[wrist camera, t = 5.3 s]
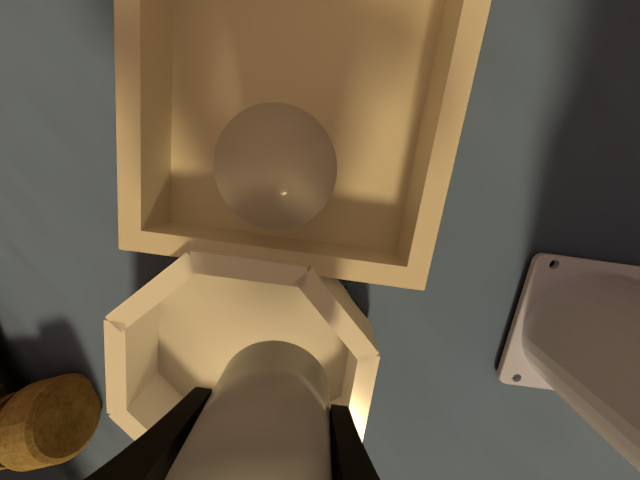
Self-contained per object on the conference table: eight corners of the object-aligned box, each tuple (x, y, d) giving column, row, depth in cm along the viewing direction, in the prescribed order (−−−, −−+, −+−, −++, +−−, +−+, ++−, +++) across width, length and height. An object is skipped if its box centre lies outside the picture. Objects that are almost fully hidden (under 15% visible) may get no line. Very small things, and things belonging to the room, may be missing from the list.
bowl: (381, 256, 16) (396, 279, 13) (345, 445, 19) (349, 504, 16) (148, 224, 16) (100, 239, 13) (147, 420, 19) (109, 473, 16)
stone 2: (336, 348, 12) (345, 446, 7) (321, 444, 12) (320, 587, 8) (225, 333, 12) (164, 423, 7) (216, 431, 12) (157, 566, 8)
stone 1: (339, 129, 14) (345, 111, 10) (327, 218, 15) (327, 237, 11) (250, 117, 14) (217, 93, 10) (243, 206, 15) (210, 221, 11)
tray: (474, -50, 13) (518, -115, 10) (406, 268, 17) (424, 290, 14) (160, -96, 13) (110, -177, 10) (156, 234, 16) (118, 249, 13)
